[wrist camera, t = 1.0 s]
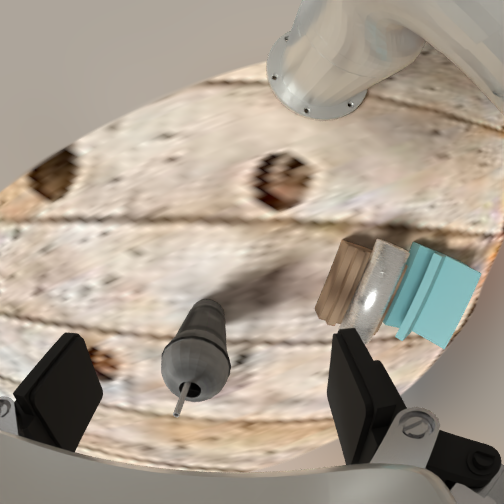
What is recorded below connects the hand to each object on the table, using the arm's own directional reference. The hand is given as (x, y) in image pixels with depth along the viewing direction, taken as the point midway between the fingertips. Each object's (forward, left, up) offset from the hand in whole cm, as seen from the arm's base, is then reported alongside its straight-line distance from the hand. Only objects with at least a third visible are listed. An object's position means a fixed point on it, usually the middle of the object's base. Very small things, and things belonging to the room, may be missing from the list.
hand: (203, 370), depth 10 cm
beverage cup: (+13, 0, -29) cm, 32 cm away
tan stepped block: (+3, +18, -29) cm, 34 cm away
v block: (+1, +29, -29) cm, 41 cm away
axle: (+2, +18, -26) cm, 31 cm away
